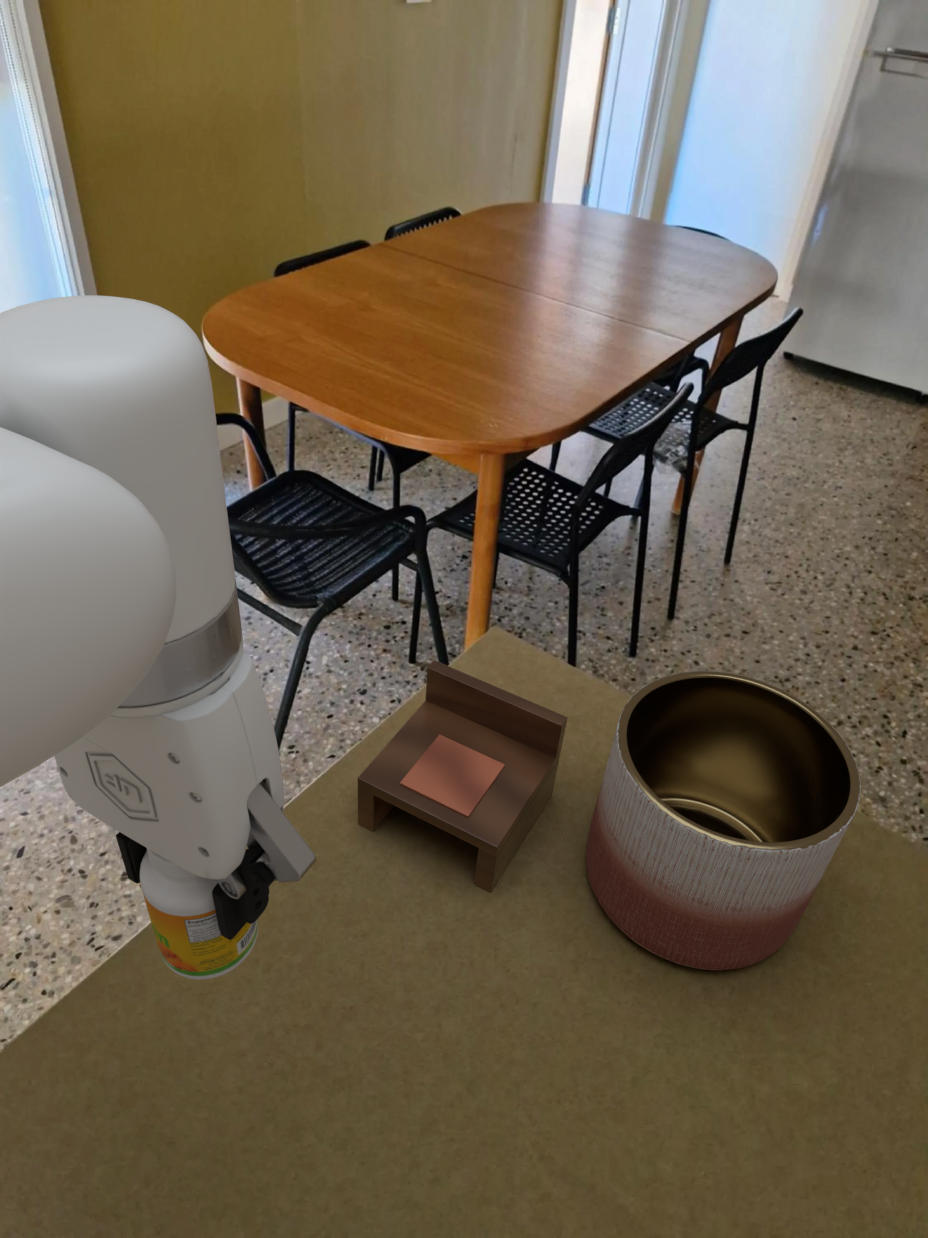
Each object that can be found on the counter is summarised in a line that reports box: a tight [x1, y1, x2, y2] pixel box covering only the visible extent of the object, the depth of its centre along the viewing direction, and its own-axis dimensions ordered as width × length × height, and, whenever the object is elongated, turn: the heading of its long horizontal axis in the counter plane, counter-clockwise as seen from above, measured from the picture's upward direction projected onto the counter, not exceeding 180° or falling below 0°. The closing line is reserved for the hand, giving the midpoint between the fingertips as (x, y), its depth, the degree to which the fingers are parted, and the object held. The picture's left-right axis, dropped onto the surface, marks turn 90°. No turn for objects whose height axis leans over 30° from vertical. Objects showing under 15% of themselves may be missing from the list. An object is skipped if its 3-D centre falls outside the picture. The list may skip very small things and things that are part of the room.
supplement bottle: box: [139, 848, 259, 981], centre depth 47 cm, size 5×5×10 cm
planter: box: [585, 670, 862, 971], centre depth 69 cm, size 18×18×16 cm
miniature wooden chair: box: [357, 659, 569, 893], centre depth 75 cm, size 12×13×10 cm
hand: (199, 886), depth 47 cm, fingers closed on supplement bottle, 5 cm apart
